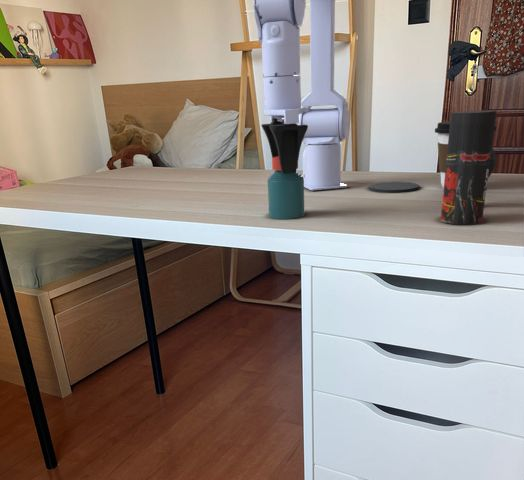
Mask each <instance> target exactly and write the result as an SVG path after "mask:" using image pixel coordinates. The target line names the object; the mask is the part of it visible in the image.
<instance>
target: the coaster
mask: <svg viewBox="0 0 524 480" xmlns="http://www.w3.org/2000/svg"><path fill="white" fill-rule="evenodd" d="M419 189H420V184H419V183H415V182H410V181H409V182H408V181H407V182H406V181H385V182H378V183H372V184H370V185H368V190H369V191H371V192H376V193H385V194H386V193H395V194H396V193H397V194H398V193H408V192H409V193H410V192H414V191H417V190H419Z"/></svg>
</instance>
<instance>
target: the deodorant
mask: <svg viewBox="0 0 524 480" xmlns="http://www.w3.org/2000/svg"><path fill="white" fill-rule="evenodd" d="M449 118H450V120H449V121H450V128H449V139H448V149H447V159H446V170H445V180H444V189H443V193H442V201H441V212H440V222H442V223H444V224H448V225H449V224H450V225H457V226H468V225H469V226H471V225H479V224H481V223H482V222H483V218H484V211H485V203H486V194H487V188H488V180H489V178H488V173H489V165H490V158H491V150H492V148H493V142H494V135H495V131H494V127H496V120H497V119H496V118H497V110H489V109H488V110H485V109H484V110H463V111H461V110H460V111H451V112H450V117H449Z"/></svg>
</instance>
